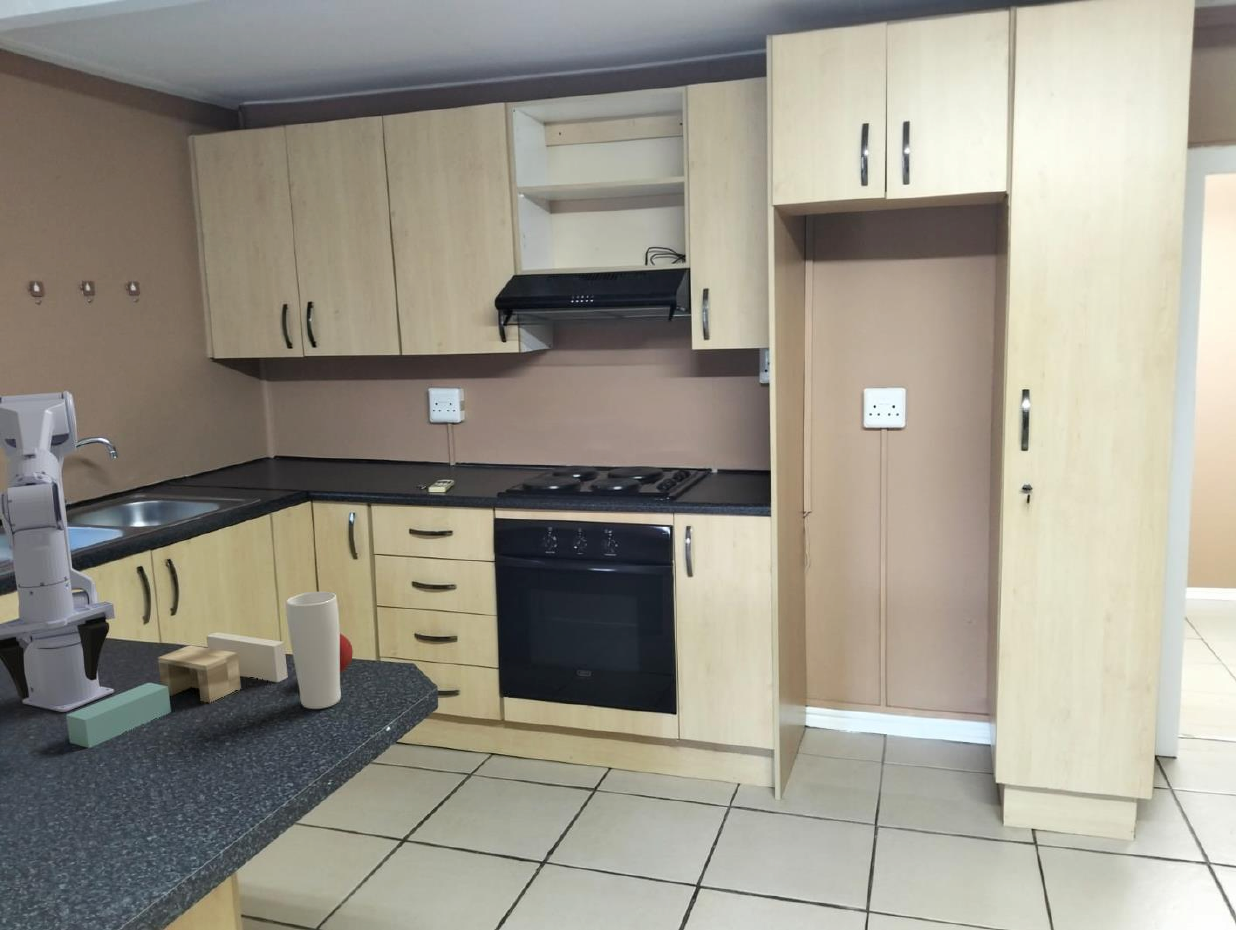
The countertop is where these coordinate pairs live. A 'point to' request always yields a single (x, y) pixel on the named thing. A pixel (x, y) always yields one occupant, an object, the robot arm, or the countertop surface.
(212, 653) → the block
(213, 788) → the countertop surface
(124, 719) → the mint green rectangular prism
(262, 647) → the wall
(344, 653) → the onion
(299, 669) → the drinking glass
